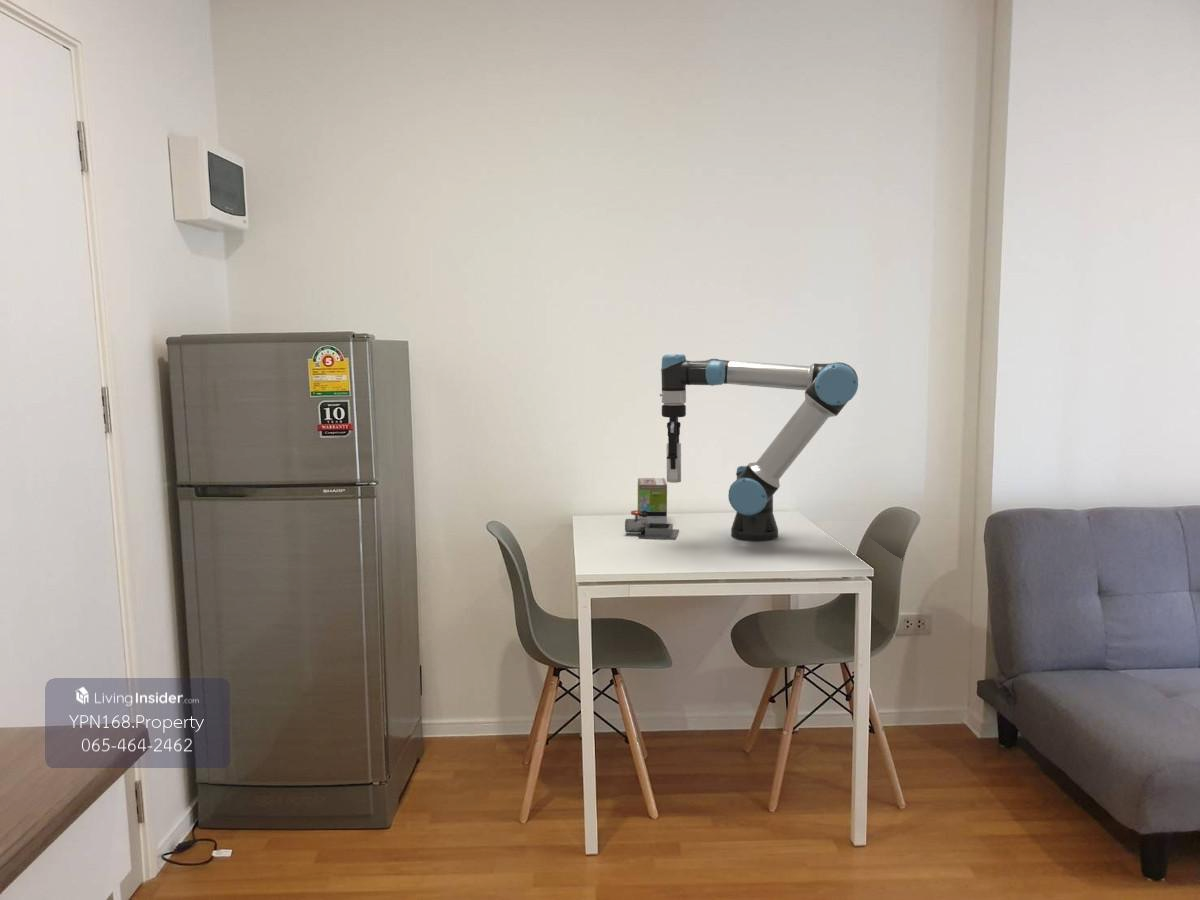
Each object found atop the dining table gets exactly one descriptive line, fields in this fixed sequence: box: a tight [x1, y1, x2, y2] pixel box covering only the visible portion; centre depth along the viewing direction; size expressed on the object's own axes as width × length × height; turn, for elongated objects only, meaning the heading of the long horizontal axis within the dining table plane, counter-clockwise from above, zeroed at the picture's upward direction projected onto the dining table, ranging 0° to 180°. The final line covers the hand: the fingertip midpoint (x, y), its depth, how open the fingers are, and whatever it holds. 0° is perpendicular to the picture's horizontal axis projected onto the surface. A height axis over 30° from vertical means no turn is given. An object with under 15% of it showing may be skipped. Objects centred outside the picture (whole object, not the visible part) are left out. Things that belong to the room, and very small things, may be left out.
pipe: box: [666, 442, 682, 484], centre depth 269 cm, size 4×4×12 cm
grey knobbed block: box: [624, 509, 680, 541], centre depth 282 cm, size 17×12×8 cm
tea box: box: [637, 477, 668, 524], centre depth 302 cm, size 15×10×15 cm
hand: (674, 477), depth 270 cm, fingers closed on pipe, 4 cm apart
